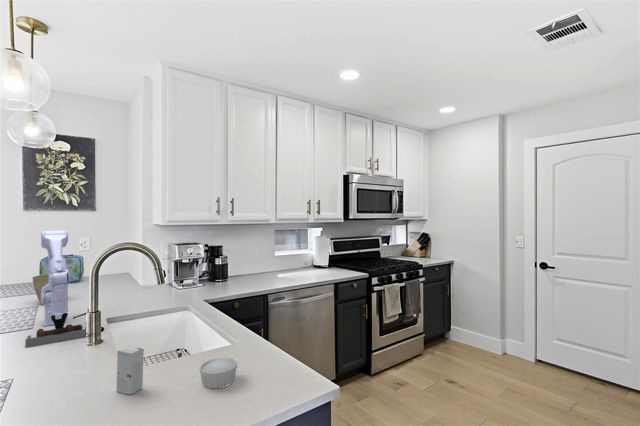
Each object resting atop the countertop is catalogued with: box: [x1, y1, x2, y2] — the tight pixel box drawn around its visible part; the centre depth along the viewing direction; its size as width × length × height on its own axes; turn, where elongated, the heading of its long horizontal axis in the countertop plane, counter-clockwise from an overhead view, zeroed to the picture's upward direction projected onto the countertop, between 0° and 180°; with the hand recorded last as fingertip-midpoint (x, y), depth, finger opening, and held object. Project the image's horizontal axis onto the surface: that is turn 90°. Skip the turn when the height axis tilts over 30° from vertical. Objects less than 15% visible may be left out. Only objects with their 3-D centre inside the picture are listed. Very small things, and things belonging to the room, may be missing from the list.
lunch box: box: [38, 254, 85, 283], centre depth 252 cm, size 26×11×21 cm, turn 115°
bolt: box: [36, 323, 83, 337], centre depth 142 cm, size 6×5×15 cm
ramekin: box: [199, 357, 238, 389], centre depth 105 cm, size 11×11×5 cm
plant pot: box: [32, 274, 50, 306], centre depth 195 cm, size 15×15×16 cm
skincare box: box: [116, 344, 145, 396], centre depth 100 cm, size 6×4×12 cm
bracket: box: [24, 326, 87, 348], centre depth 140 cm, size 7×20×3 cm, turn 125°
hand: (59, 331), depth 145 cm, fingers closed
